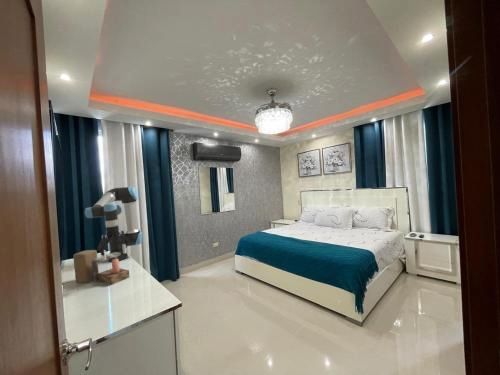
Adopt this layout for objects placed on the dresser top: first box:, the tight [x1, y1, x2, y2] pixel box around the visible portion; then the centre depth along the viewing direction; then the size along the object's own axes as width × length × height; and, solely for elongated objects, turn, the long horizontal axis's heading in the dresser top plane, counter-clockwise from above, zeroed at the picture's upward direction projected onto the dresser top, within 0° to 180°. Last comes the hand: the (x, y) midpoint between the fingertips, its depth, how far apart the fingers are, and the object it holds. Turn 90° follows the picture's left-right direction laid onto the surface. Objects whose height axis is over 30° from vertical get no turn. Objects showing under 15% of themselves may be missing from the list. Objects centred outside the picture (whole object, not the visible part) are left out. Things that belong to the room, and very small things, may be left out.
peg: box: [111, 259, 120, 275], centre depth 153 cm, size 4×4×14 cm
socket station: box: [92, 252, 130, 285], centre depth 155 cm, size 16×19×16 cm
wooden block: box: [73, 249, 100, 284], centre depth 156 cm, size 10×10×20 cm
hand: (115, 256), depth 153 cm, fingers open, 13 cm apart
